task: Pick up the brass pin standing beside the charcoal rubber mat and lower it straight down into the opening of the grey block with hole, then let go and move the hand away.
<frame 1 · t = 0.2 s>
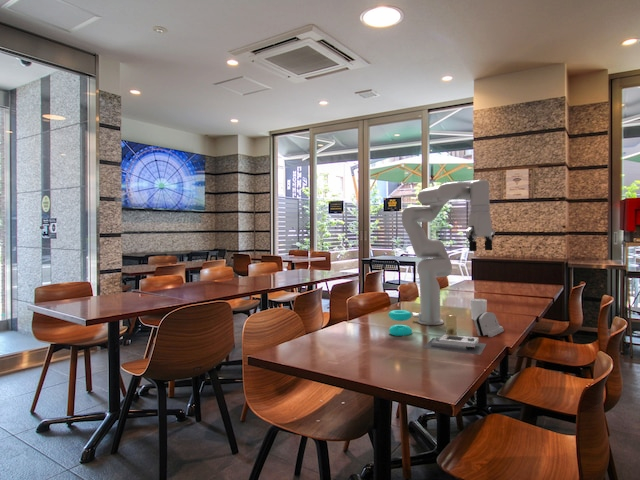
hand: (480, 250, 171), 37 cm above the table, tool pointing down, fingers open, 9 cm apart
white cup: (478, 319, 206), on the table
donuts: (400, 334, 180), on the table
hinge: (488, 333, 179), on the table
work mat: (454, 347, 158), on the table
brass pin: (451, 339, 169), on the table
grey block with hole: (454, 345, 158), resting on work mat
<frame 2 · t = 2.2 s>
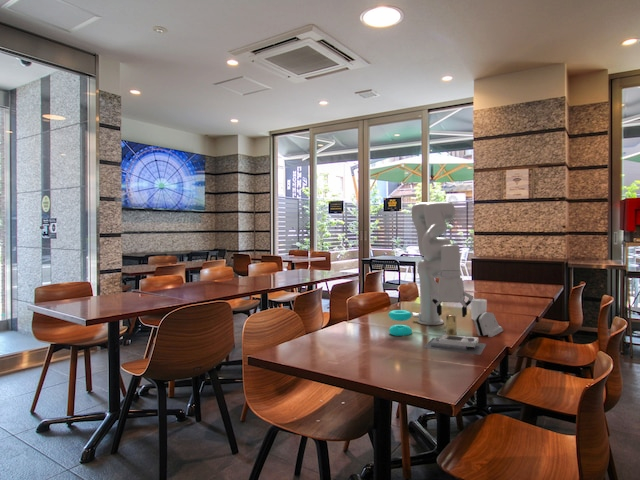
hand: (451, 315, 168), 10 cm above the table, tool pointing down, fingers open, 9 cm apart
nothing on the table moved.
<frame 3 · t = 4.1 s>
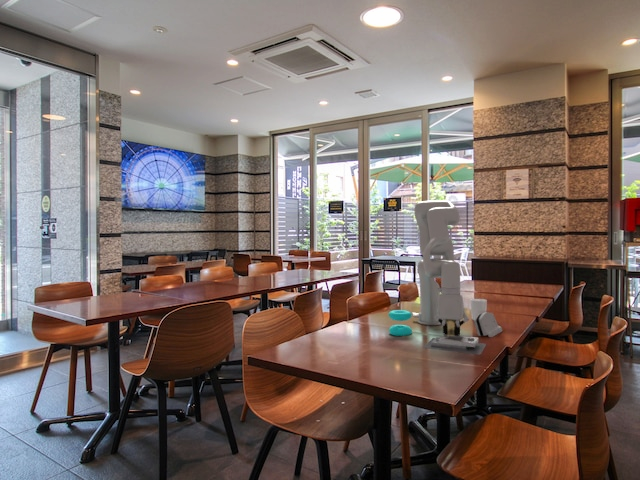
hand: (451, 335, 169), 2 cm above the table, tool pointing down, fingers closed on brass pin, 4 cm apart
brass pin: (451, 339, 169), on the table, touching gripper
everything else where it was.
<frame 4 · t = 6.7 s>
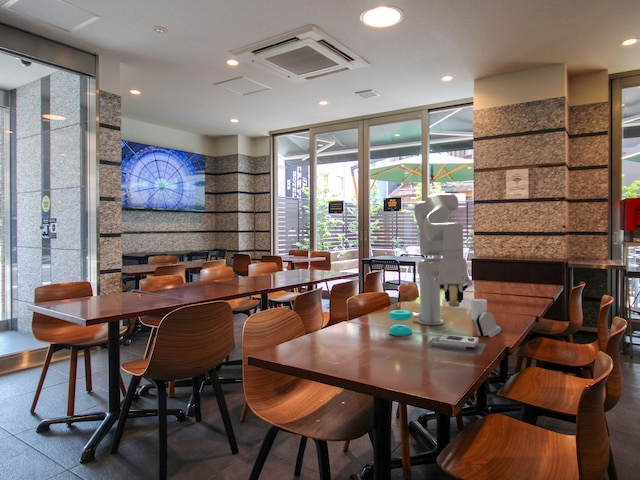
hand: (454, 301, 158), 18 cm above the table, tool pointing down, fingers closed on brass pin, 4 cm apart
brass pin: (454, 305, 158), point 16 cm above the table, touching gripper
everything else where it was.
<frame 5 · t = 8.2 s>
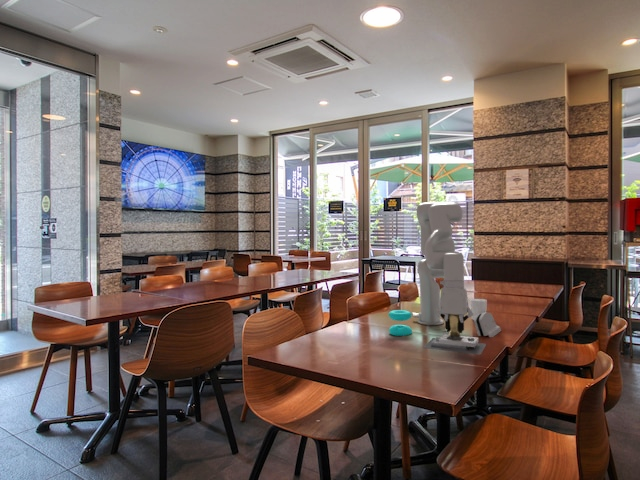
hand: (454, 331, 158), 6 cm above the table, tool pointing down, fingers closed on brass pin, 4 cm apart
brass pin: (454, 335, 158), point 4 cm above the table, touching gripper
when the fingers open (4 cm above the table, at t = 9.3 s): brass pin drops 2 cm, resting on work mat.
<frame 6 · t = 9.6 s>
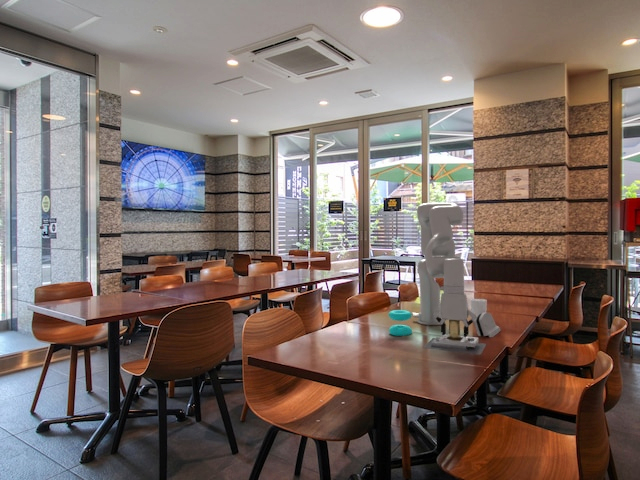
hand: (454, 335, 158), 5 cm above the table, tool pointing down, fingers open, 7 cm apart
brass pin: (454, 345, 158), point 1 cm above the table, touching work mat
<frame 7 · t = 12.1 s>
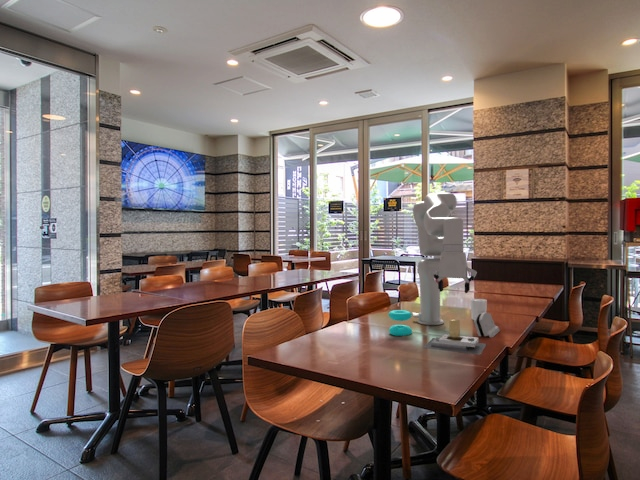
hand: (453, 291, 161), 21 cm above the table, tool pointing down, fingers open, 9 cm apart
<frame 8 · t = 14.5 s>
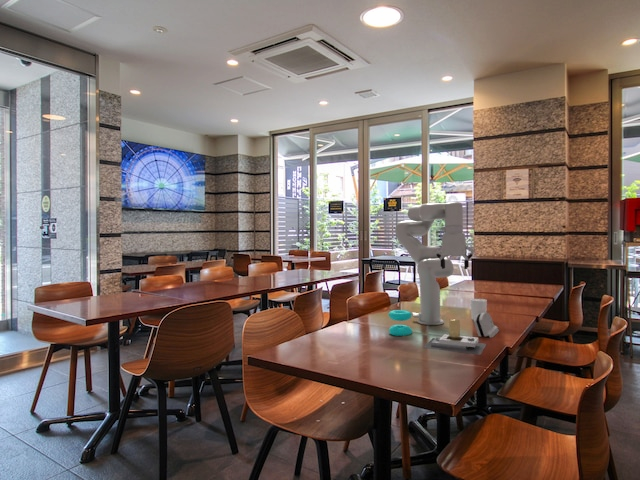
hand: (454, 268, 180), 28 cm above the table, tool pointing down, fingers open, 9 cm apart
at the end: brass pin 0.0 cm off-centre on the grey block with hole, point 0.0 cm above the grey block with hole's base; brass pin tilted 0°; the gripper is holding nothing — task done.
